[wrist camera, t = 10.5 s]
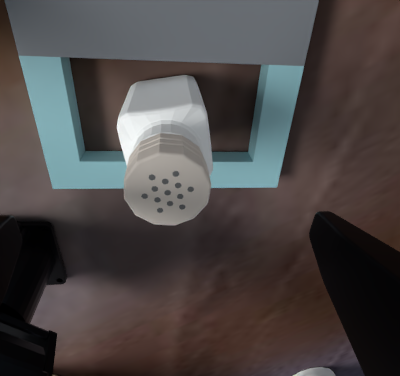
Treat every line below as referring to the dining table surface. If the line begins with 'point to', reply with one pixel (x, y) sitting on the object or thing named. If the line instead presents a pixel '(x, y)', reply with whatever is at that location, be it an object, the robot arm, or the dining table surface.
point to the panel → (161, 51)
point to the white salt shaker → (166, 150)
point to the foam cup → (316, 372)
